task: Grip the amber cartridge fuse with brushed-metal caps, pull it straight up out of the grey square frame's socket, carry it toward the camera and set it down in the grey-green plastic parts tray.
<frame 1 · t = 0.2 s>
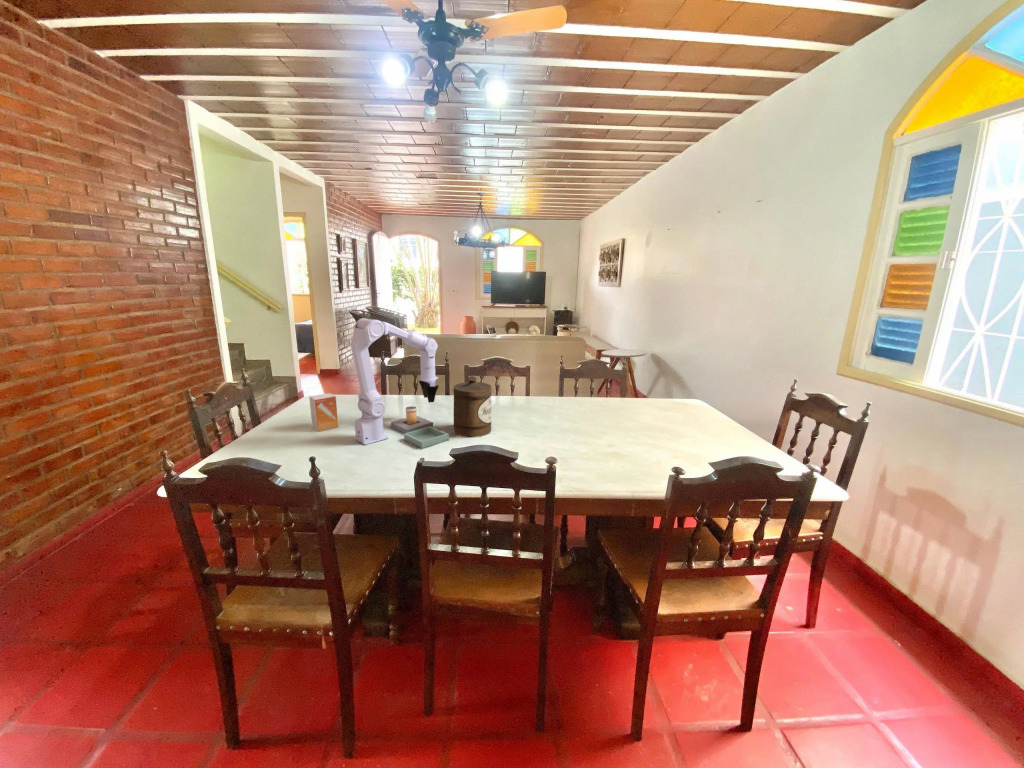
hand: (428, 399, 168), 10 cm above the table, fingers open, 7 cm apart
fuse: (411, 417, 165), in the grey square frame
small box: (325, 428, 164), on the table
parts tray: (426, 440, 152), on the table
wooden container: (472, 431, 163), on the table
grey square frame: (411, 426, 166), on the table
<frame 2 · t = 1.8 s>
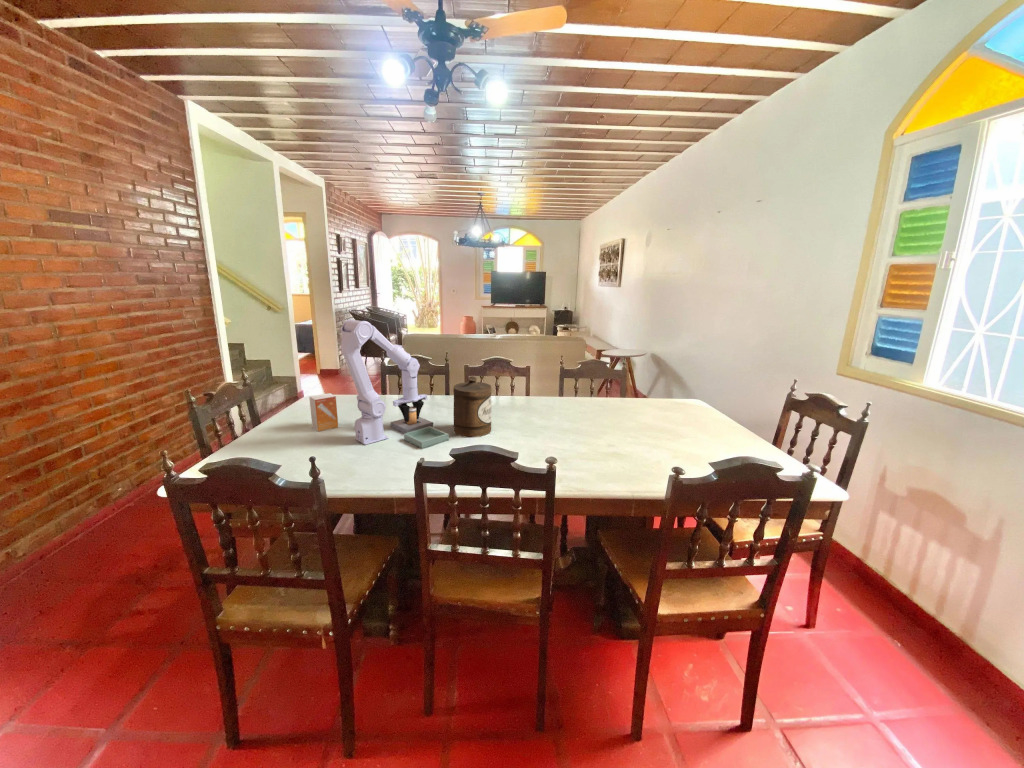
hand: (411, 419, 165), 3 cm above the table, fingers closed on fuse, 4 cm apart
fuse: (411, 417, 165), in the grey square frame, touching gripper
everything else where it was.
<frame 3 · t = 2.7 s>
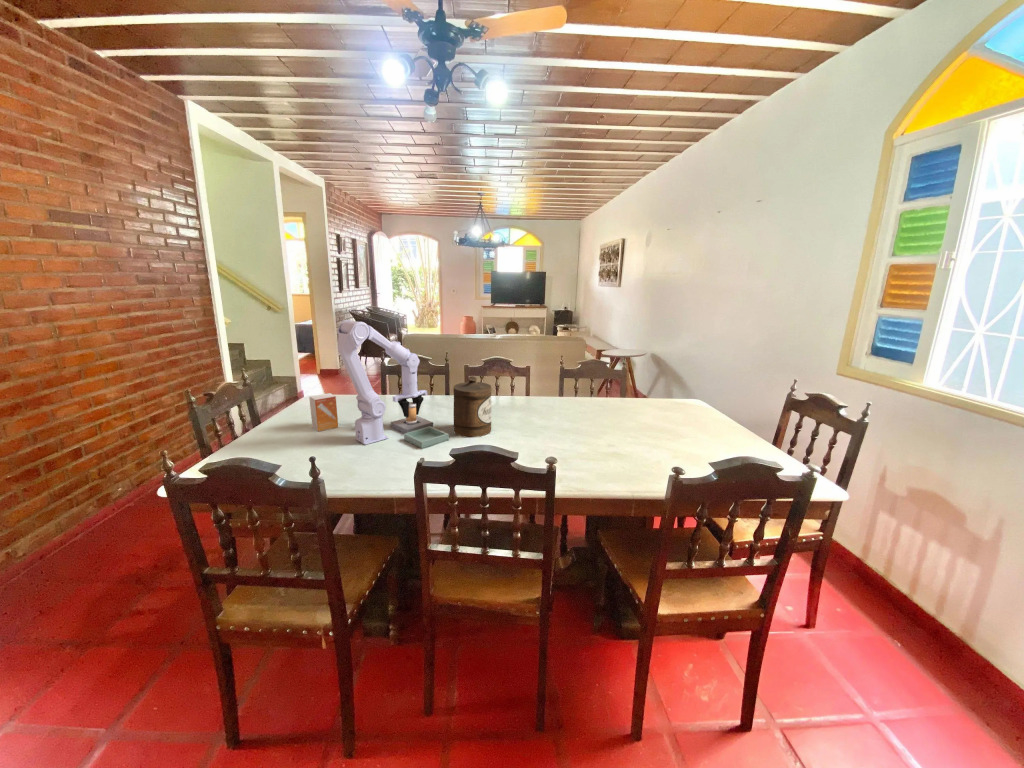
hand: (411, 415, 165), 5 cm above the table, fingers closed on fuse, 4 cm apart
fuse: (411, 413, 164), point 6 cm above the table, touching gripper
everything else where it was.
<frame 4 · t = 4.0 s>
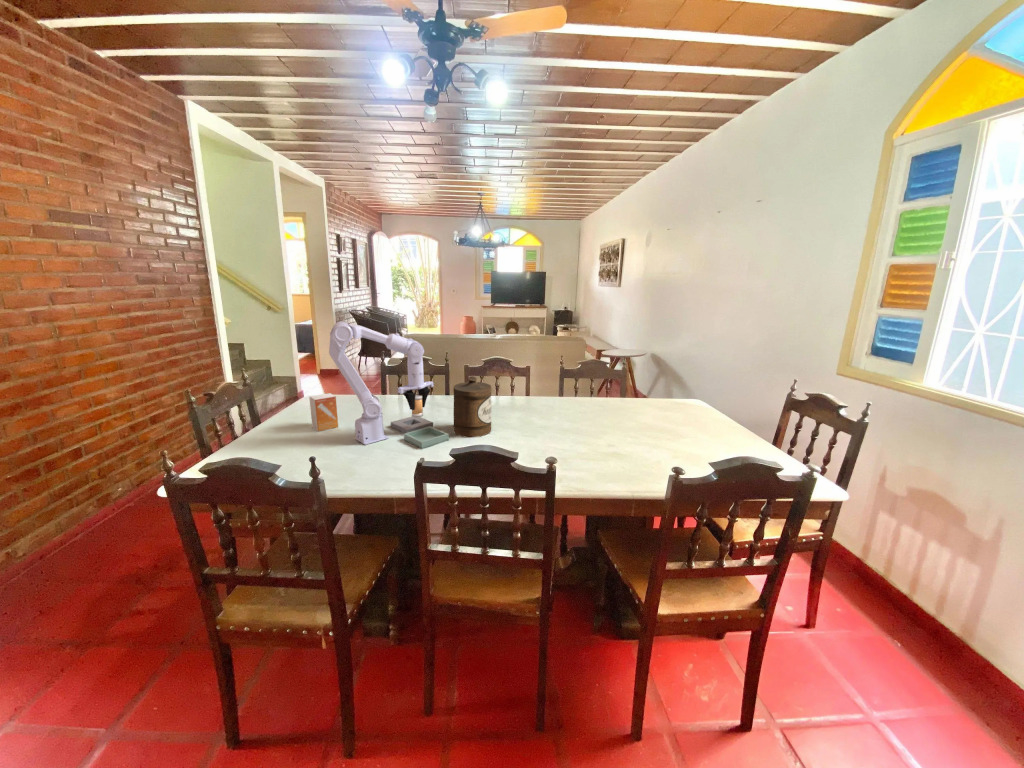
hand: (417, 408, 157), 10 cm above the table, fingers closed on fuse, 4 cm apart
fuse: (417, 405, 157), point 11 cm above the table, touching gripper
everything else where it was.
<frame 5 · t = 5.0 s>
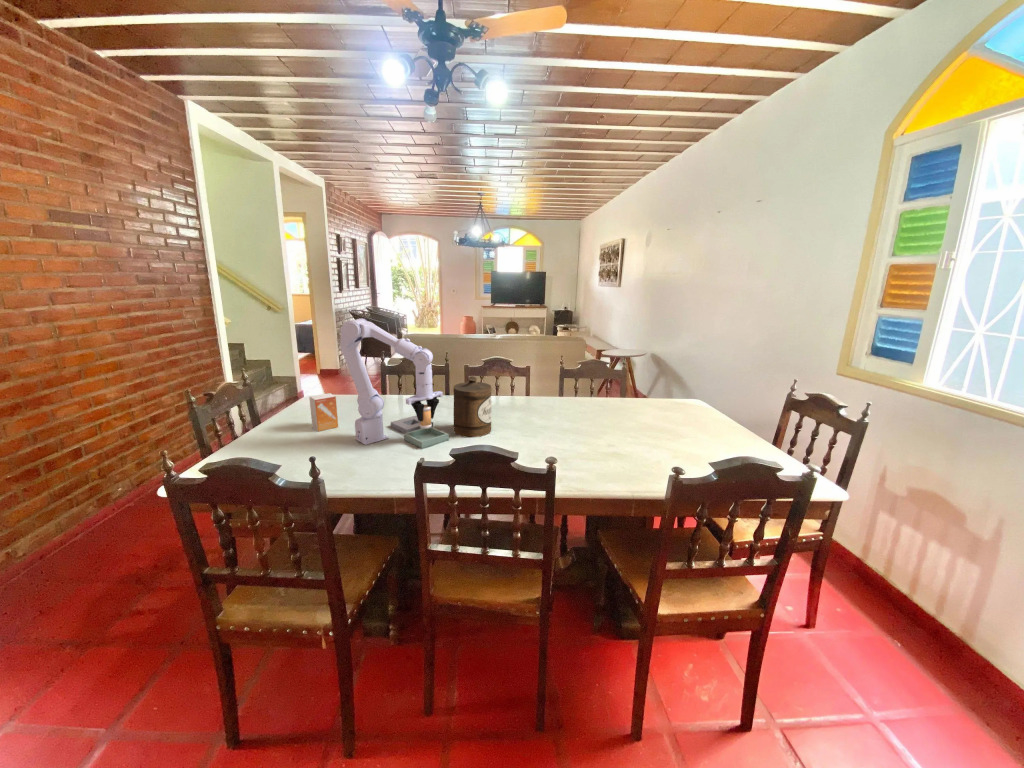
hand: (425, 419, 150), 8 cm above the table, fingers closed on fuse, 4 cm apart
fuse: (425, 416, 150), point 9 cm above the table, touching gripper
everything else where it was.
when the fingers open (5 cm above the table, at t = 6.0 s): fuse stays where it is, resting on parts tray.
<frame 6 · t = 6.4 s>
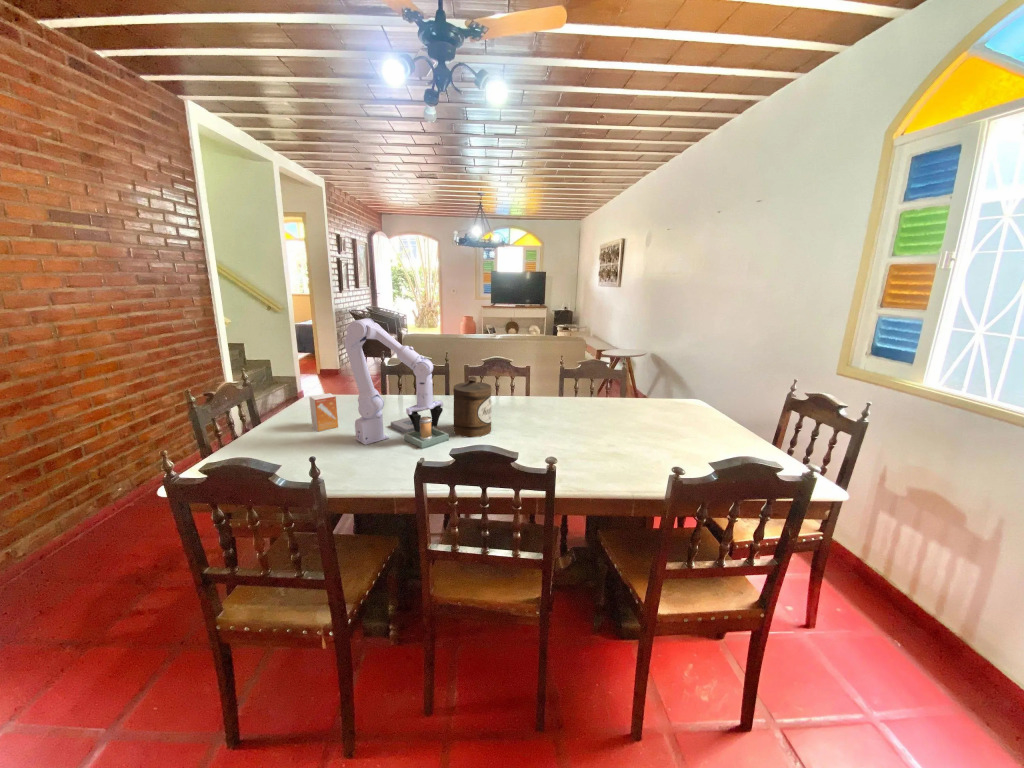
hand: (426, 428, 151), 5 cm above the table, fingers open, 7 cm apart
fuse: (425, 428, 151), in the parts tray
everything else where it was.
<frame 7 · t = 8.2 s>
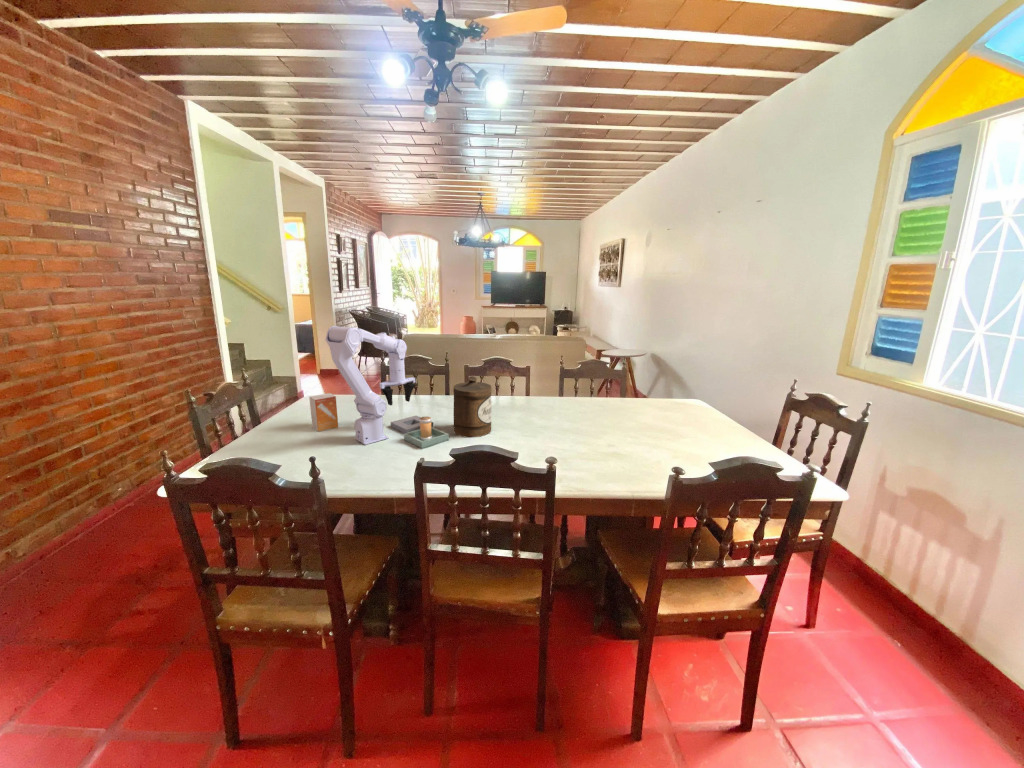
hand: (399, 402, 164), 10 cm above the table, fingers open, 7 cm apart
nothing on the table moved.
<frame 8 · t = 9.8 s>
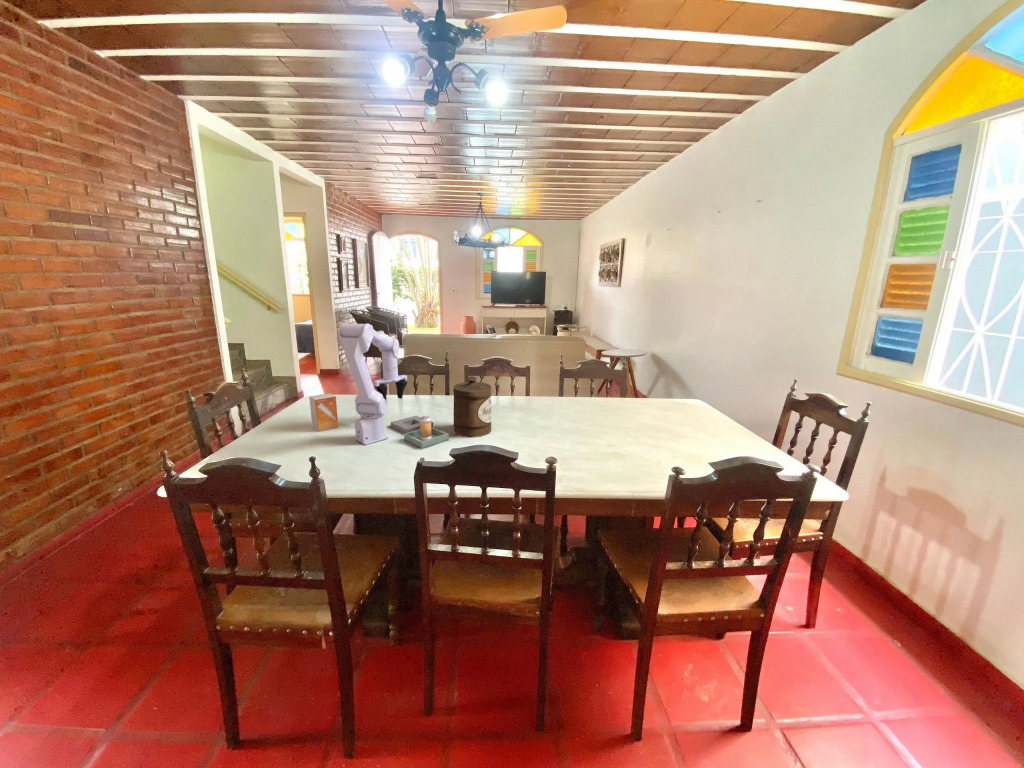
hand: (392, 400, 167), 10 cm above the table, fingers open, 7 cm apart
nothing on the table moved.
at the end: fuse inside the target area on the parts tray (0.2 cm from its centre), point 4.5 cm above the parts tray's base; fuse moved 16.3 cm from its start; the gripper is holding nothing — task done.
